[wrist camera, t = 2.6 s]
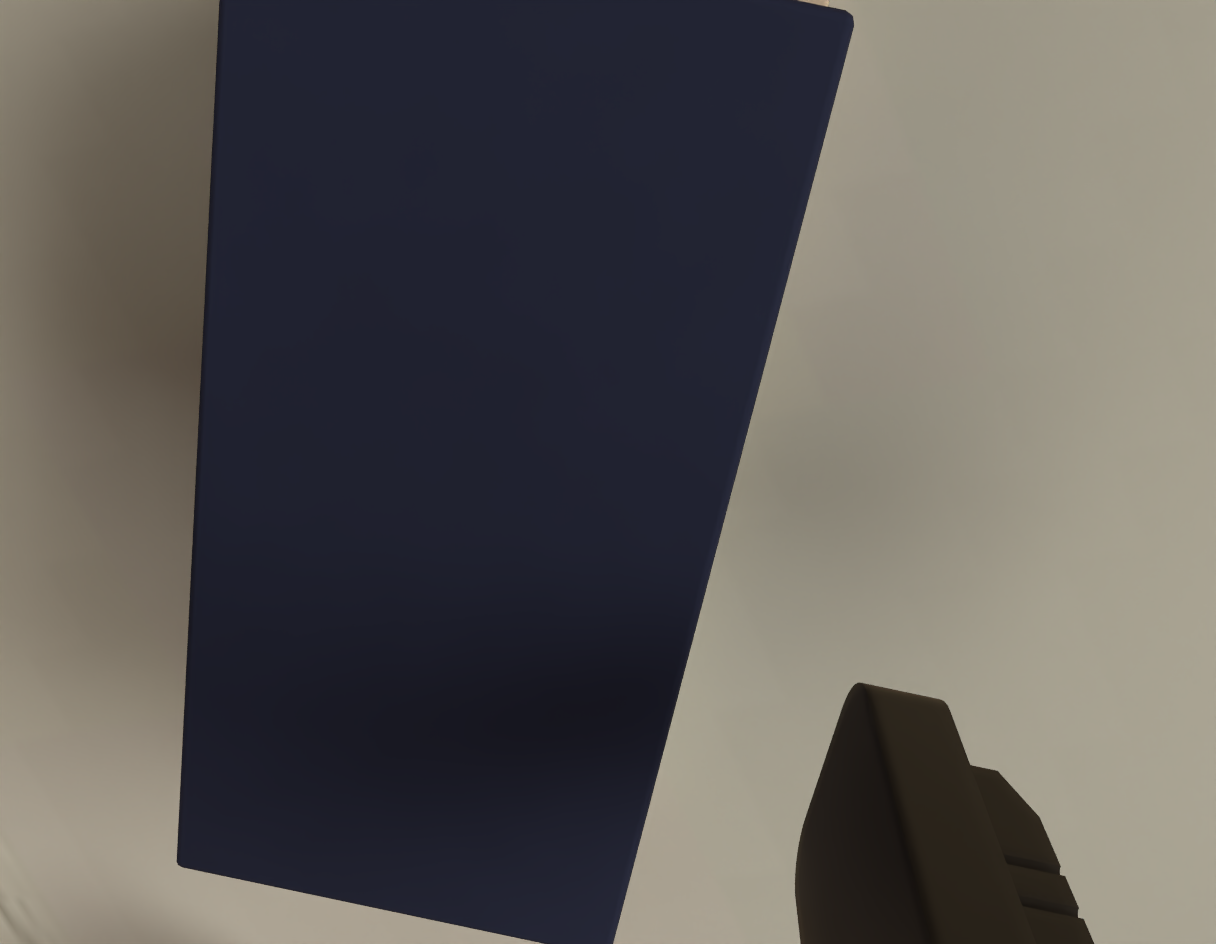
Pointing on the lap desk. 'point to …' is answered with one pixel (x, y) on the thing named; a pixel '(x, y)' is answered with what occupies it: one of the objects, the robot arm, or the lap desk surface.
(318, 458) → the navy rectangular block
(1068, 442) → the lap desk surface
